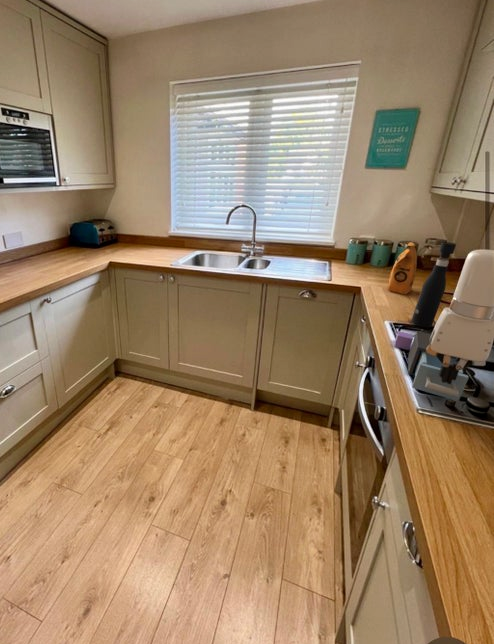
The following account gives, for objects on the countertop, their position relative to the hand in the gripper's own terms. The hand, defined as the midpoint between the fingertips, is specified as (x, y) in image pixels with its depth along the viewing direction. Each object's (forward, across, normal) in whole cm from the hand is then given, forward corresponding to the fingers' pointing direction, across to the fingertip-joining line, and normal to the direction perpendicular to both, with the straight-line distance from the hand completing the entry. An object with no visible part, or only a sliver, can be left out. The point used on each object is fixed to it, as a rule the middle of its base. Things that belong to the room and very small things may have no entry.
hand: (445, 380), depth 77 cm
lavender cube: (+6, +8, -28) cm, 30 cm away
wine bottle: (+7, +2, -52) cm, 53 cm away
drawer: (+6, +1, -5) cm, 7 cm away
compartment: (+6, +1, -16) cm, 17 cm away
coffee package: (+6, +10, -92) cm, 92 cm away
